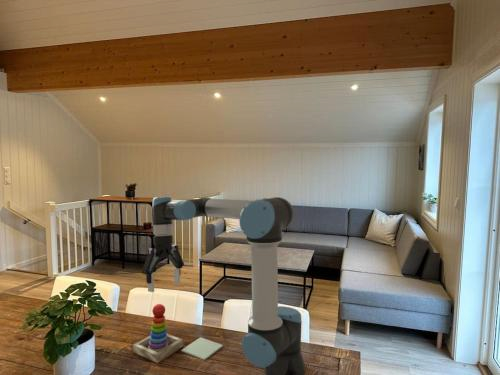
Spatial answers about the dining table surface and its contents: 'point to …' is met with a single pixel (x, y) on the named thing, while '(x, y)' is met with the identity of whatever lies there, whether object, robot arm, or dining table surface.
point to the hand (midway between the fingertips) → (164, 287)
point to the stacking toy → (158, 329)
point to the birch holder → (158, 356)
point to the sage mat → (202, 348)
